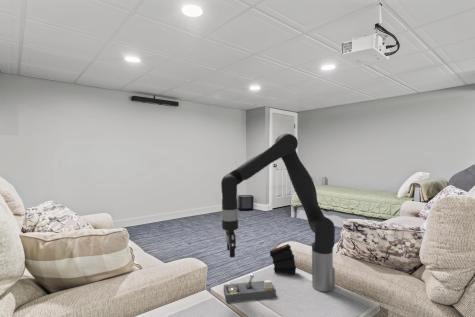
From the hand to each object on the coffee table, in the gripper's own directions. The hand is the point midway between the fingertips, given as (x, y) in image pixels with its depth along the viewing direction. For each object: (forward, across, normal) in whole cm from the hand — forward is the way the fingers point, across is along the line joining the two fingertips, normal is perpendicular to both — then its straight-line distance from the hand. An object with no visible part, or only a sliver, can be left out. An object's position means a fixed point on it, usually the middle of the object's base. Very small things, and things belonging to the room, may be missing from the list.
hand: (230, 253), depth 121 cm
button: (+17, -4, 0) cm, 17 cm away
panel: (+18, -4, -7) cm, 19 cm away
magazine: (+18, +13, -29) cm, 37 cm away
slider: (+14, -7, -15) cm, 22 cm away
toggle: (+13, -4, -7) cm, 16 cm away
